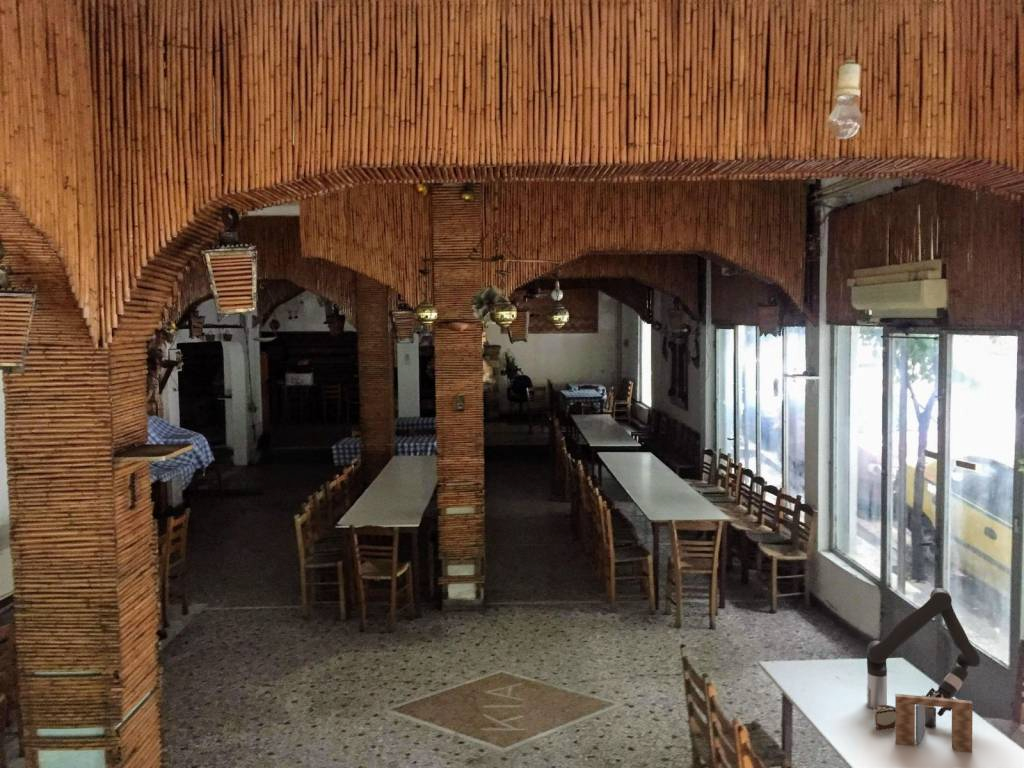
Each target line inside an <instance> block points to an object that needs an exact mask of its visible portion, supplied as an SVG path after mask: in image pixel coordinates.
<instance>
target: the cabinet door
mask: <svg viewBox="0 0 1024 768" xmlns="http://www.w3.org/2000/svg"><path fill="white" fill-rule="evenodd" d="M921 696H925V695H923V694H922V695H921ZM925 732H926V727H925V705H916V704H915V744H917V745H918V744H919V743H920V742H921V740H922V738H923V736H924V735H925Z"/></svg>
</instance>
